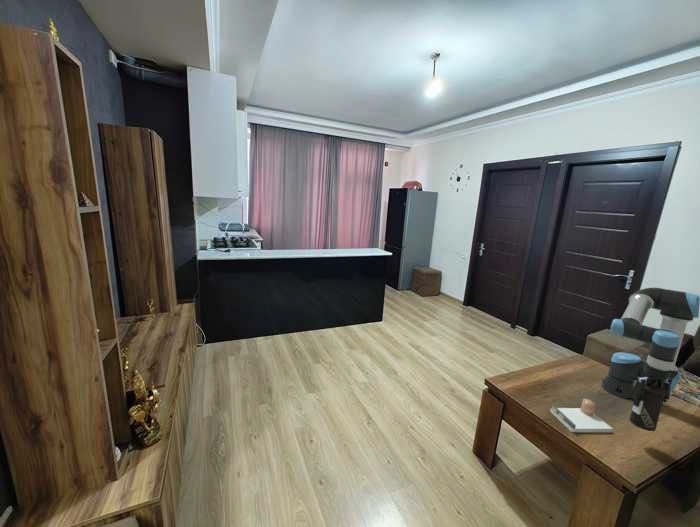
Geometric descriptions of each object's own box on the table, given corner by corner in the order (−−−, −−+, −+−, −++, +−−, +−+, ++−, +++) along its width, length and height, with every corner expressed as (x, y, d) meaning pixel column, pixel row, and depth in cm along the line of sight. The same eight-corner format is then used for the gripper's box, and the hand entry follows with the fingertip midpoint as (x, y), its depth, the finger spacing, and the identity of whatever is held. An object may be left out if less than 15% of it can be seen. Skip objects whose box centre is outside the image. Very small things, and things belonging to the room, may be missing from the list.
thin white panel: (586, 411, 148) (587, 405, 147) (611, 432, 134) (613, 425, 134) (549, 411, 147) (550, 404, 146) (571, 432, 133) (573, 425, 133)
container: (623, 417, 131) (633, 379, 127) (640, 417, 132) (651, 378, 128) (643, 432, 123) (655, 391, 119) (662, 431, 124) (674, 391, 120)
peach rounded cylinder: (587, 408, 147) (589, 398, 146) (595, 415, 142) (598, 405, 141) (577, 408, 147) (580, 398, 146) (586, 415, 142) (588, 405, 141)
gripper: (671, 361, 126) (658, 406, 130) (626, 361, 125) (614, 406, 129) (691, 371, 118) (677, 418, 123) (644, 371, 117) (631, 418, 122)
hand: (645, 412), depth 126 cm, fingers closed on container, 8 cm apart
